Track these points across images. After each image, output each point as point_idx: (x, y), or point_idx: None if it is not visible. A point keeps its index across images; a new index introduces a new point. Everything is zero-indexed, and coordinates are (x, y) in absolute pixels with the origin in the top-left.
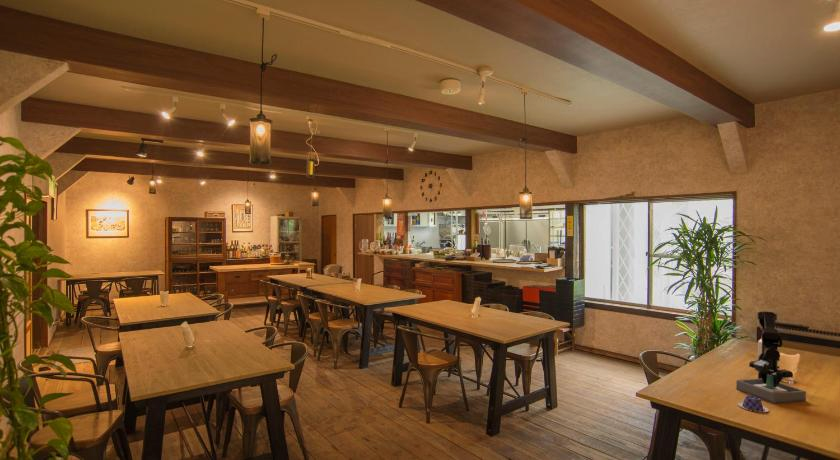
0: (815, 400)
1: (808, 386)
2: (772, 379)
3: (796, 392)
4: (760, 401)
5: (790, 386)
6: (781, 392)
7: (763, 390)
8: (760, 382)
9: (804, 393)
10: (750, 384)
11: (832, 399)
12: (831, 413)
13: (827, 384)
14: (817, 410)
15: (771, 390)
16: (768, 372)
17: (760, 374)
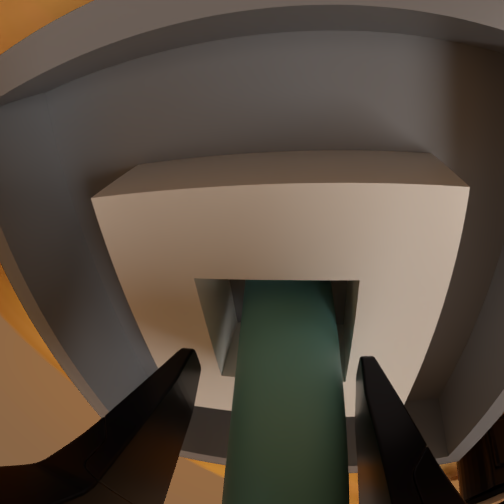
0: None
1: (350, 496)
2: (225, 471)
3: (78, 385)
4: None
5: None
6: (5, 244)
7: (42, 29)
8: (473, 387)
9: None
10: (405, 3)
11: (201, 466)
12: (8, 321)
13: None
14: (16, 300)
15: (138, 238)
16: (473, 496)
17: (451, 491)
